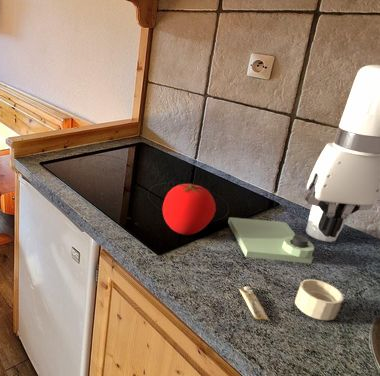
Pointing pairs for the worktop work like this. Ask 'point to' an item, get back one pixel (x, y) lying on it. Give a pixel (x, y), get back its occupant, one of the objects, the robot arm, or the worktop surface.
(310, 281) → the bowl
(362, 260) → the worktop surface
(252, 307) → the snack bar
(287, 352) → the worktop surface
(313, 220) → the white cup
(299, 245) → the tare button
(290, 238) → the scale
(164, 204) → the tomato
